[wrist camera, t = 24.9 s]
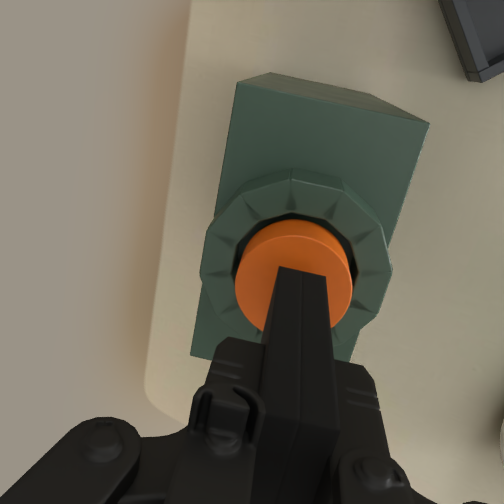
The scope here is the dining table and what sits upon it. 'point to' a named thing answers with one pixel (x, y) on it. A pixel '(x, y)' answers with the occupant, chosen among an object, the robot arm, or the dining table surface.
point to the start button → (291, 266)
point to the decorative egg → (502, 443)
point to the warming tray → (477, 35)
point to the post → (307, 193)
